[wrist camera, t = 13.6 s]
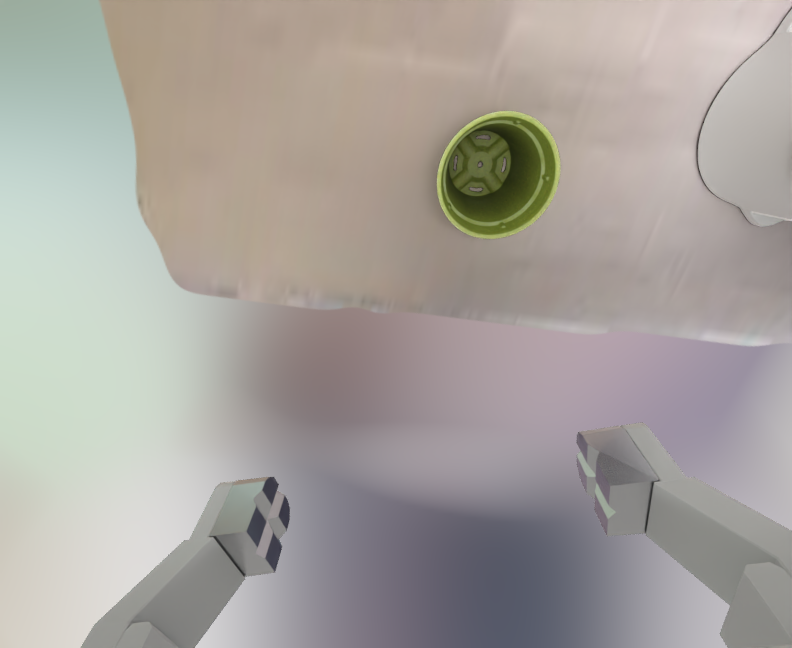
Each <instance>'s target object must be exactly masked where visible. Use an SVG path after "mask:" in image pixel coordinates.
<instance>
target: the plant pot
mask: <svg viewBox="0 0 792 648" xmlns="http://www.w3.org/2000/svg"><path fill="white" fill-rule="evenodd" d="M480 135H488V136H490V137H491V139H490V140H486V139H476V137H477V136H480ZM455 156H458V159H457V170H456V171H455V170H454V169H453V167H454V162H453V161H454V158H455ZM504 157H505V158H506V168H505V171H504V172H501V170H502V166H503V158H504ZM479 162H482V163H483V165H482V167H480V168H479V167H478V163H479ZM559 178H560V156H559V151H558V148H557V145H556V143H555V141H554V139H553V137H552V135H551V134H550V132H549V131H548V130H547V128H546V127H545V126H544V125H543V124H542V123H541V122H539V121H538V120H536V119H535V118H533V117H531V116H529V115H527V114H523V113H520V112H515V111H498V112H493V113H489V114H486V115H484V116H481V117H479V118H477V119H475V120H473V121H472V122H470V123H469V124H467V125H466V126H465V127H463V128H462V129H461V130H460V131H459V132H458V133H457V134H456V135H455V136H454V138H453V139H452V140H451V141H450V143H449V144H448V146H447V148H446V149H445V151H444V153H443V155H442V158H441V161H440V164H439V168H438V173H437V193H438V198H439V202H440V205H441V208H442V210H443V212H444V213H445V215H446V217H447V218H448V219H449V221H450V222H451V223H452V224H453V225H454V226H455V227H456V228H458V229H459V230H460V231H462V232H464V233H466V234H468V235H470V236H473V237H477V238H483V239H498V238H504V237H507V236H510V235H513V234H516V233H518V232H520V231H522V230H524V229H525V228H527V227H528V226H530V225H531V224H533V223H534V222H535V221H536V220H537V219H538V218H539V217H540V216H541V215H542V214H543V213H544V212H545V210H546V209H547V207H548V206H549V205H550V203H551V201H552V199H553V197H554V195H555V193H556V190H557V187H558V183H559ZM470 187H474V188H483V190H482V191H480V192H474V191H471V190H469V188H470Z"/></svg>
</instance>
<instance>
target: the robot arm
mask: <svg viewBox="0 0 792 648" xmlns="http://www.w3.org/2000/svg"><path fill="white" fill-rule="evenodd" d="M698 164H699V169H700V173H701V176H702V178H703V181H704V182H705V184H706V186H707V187H708V188H709V190H710V191H711V192H712V193H713V194H715V195H716V196H717V197H719V198H720V199H722V200H724V201H727V202H729V203H731V204H734V205H736V206H737V207H739V208H740V209H741V211H742V212H743V214H744V215H745V217H746V218H747V220H748V221H749V222H750V223H751V224H753V225H757V226H762V227H768V226H771V225H774V224H777V223H779V222H782V221H785V220H788V221H792V9H791V10H790V12H789V13H788V14H787V16H786V17H785V19H784V20H783V22H782V23H781V25H780V26H779V28H778V29H777V31H776V32H775V34H774V35H773V36H772V37H771V38H770V40H769V41H768V42H767V43H766V44H765V45H763V46H762V47H761V48H760V49H759V50H758V51H757V52H756V53H754V54H753V55H752V56H751V57H750V58H749V59H748V60H746V61H745V62H744V63H743V64H742V65H741V66H740V67H739V68H738V69H737V71H736V72H735V73H734V74H733V75H732V76H731V77H730V79H729V80H728V81H727V82H726V84H725V85H724V86H723V88H722V89H721V91H720V92H719V94H718V95H717V97H716V98H715V100H714V102H713V104H712V105H711V107H710V110H709V112H708V114H707V116H706V118H705V121H704V124H703V127H702V130H701V134H700V138H699V144H698ZM577 445H578V447H579V448H580V452H579V453H578V454H577V467H578V471H579V476H580V479H581V482H582V484H583V486H584V489H585V491H586V493H587V494H588V495H590V496H591V497H592V498H594V499H595V507H594V508H595V509H594V510H595V512H596V514H597V517H598V519H599V521H600V523H601V525H602V527H603V529H604V531H605V533H606V535H607V536H618V535H631V534H643V533H646V536H647V537H649V538H650V539H651V540H652V541H653V542H655V543H656V544H657V545H658V546H659V547H660V548H662V549H663V550H664V551H665V552H666V553H668V554H669V555H670V556H671V557H672V558H674V559H675V560H676V561H677V562H678V563H680V564H681V565H682V566H683V567H684V568H686V569H687V570H688V571H690V572H691V573H692V574H693V575H694V576H695V577H696V578H698V579H699V580H700V581H701V582H703V583H704V584H705V585H706V586H707V587H708V588H710V589H711V590H712V591H713V592H714V593H716V594H717V595H718V596H719V597H720V598H722V599H723V600H724V601H725V602H726V603H728V604H729V605H730V608H729V611H728V613H727V616H726V619H725V621H724V624H723V626H722V629H721V632H720V635H721V637H722V638H723V640H724V642H725V644H726V645H727V647H728V648H792V531H791V530H789V529H787V528H785V527H784V526H782V525H780V524H778V523H776V522H775V521H773V520H771V519H769V518H767V517H765V516H764V515H762V514H760V513H758V512H756V511H755V510H753V509H751V508H749V507H747V506H746V505H744V504H742V503H740V502H738V501H737V500H735V499H733V498H731V497H729V496H727V495H726V494H724V493H722V492H720V491H718V490H716V489H714V488H713V487H711V486H709V485H707V484H706V483H704V482H702V481H700V480H698V479H696V478H695V477H691V478H687V477H686V476H685V475H684V473H683V472H682V471H681V469H680V468H679V467H678V465H677V464H676V463H675V461H674V460H673V459H672V458H671V456H670V455H669V454H668V452H667V451H666V450H665V448H664V447H663V446H662V445H661V443H660V442H659V441H658V439H657V438H656V437H655V435H654V434H653V433H652V432H651V430H650V429H649V428H648V426H647V425H645V424H644V423H635V424H629V425H622V426H613V427H607V428H601V429H595V430H588V431H581V432H578V434H577ZM278 485H279V484H278V483H277V481H276V479H275V478H274V477H264V478H256V479H247V480H238V481H232V482H224V483H220V484H219V485H218V486H217V487H216V488H215V489H214V492H213V494H212V495H211V497H210V500H209V501H208V503H207V505H206V507H205V510H204V511H203V513H202V515H201V518H200V519H199V521H198V523H197V525H196V527H195V529H194V531H193V533H192V535H191V537H190V539H189V540H185V541H183V542H182V543H181V544H180V545H179V546H178V547H177V548H176V549H175V550H174V551H173V552H172V553H170V555H168V556H167V557H166V558H165V559H164V560H163V561H162V562H161V563H160V564H159V565H158V566H156V567H155V568H154V569H153V570H152V571H151V572H150V573H149V574H148V575H147V576H146V577H145V578H144V579H143V580H142V581H141V582H139V583H138V584H137V585H136V586H135V587H134V588H133V589H132V590H131V591H130V592H129V593H128V594H127V595H126V596H125V597H123V598H122V599H121V600H120V601H119V602H118V603H117V604H116V605H115V606H114V607H113V608H112V609H111V610H110V611H109V612H107V613H106V614H105V615H104V616H103V617H102V618H101V619H100V620H99V621H98V622H97V623H96V624H95V625H94V626H93V628H92V630H91V631H90V633H89V635H88V636H87V638H86V640H85V641H84V643H83V644H82V646H81V648H195V646H196V645H197V644H198V642H199V641H200V639H201V638H202V637H203V635H204V634H205V633H206V631H207V630H208V629H209V627H210V626H211V625H212V623H213V622H214V621H215V619H216V618H217V616H218V615H219V614H220V612H221V611H222V610H223V608H224V607H225V606H226V604H227V603H228V601H229V600H230V599H231V597H232V596H233V595H234V593H235V592H236V591H237V589H238V588H239V586H240V585H241V584H242V582H243V581H244V580H245V577H247V576H254V575H261V574H268V573H274V572H275V571H276V567H277V564H278V560H279V557H280V553H281V550H282V545H281V542H280V540H279V539H280V538H281V537H282V535H283V534H284V533H285V532H286V531H287V528H288V524H289V520H290V507H289V503H288V500H287V498H286V496H285V495H284V494H282V493H280V492H279V491H277V489H278Z"/></svg>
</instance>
